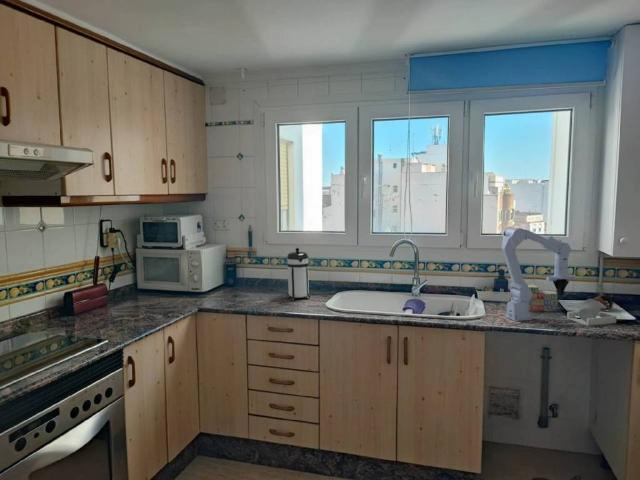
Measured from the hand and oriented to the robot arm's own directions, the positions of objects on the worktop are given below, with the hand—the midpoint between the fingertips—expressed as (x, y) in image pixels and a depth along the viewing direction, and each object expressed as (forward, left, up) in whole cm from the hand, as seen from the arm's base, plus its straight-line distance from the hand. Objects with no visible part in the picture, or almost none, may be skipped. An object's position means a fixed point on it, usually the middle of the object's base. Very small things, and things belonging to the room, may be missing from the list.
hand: (560, 294), depth 227 cm
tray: (+8, -11, -10) cm, 17 cm away
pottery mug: (+26, +4, -11) cm, 29 cm away
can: (+2, -14, -6) cm, 15 cm away
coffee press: (-115, +79, -11) cm, 140 cm away
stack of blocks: (-4, +15, -11) cm, 18 cm away
